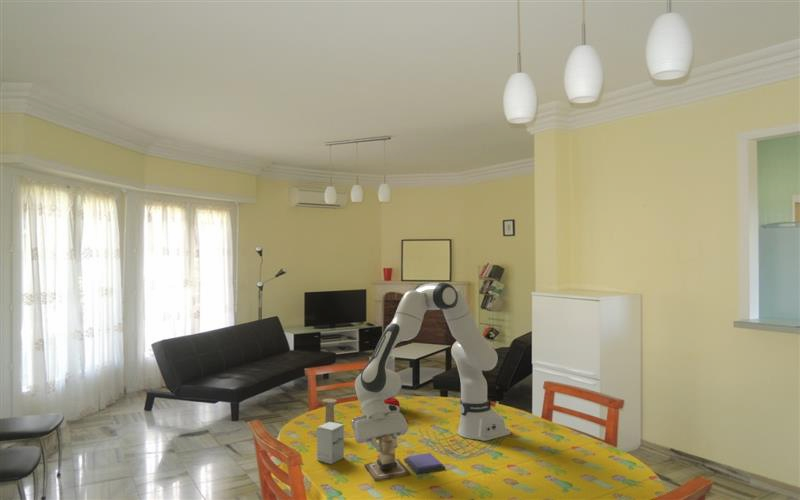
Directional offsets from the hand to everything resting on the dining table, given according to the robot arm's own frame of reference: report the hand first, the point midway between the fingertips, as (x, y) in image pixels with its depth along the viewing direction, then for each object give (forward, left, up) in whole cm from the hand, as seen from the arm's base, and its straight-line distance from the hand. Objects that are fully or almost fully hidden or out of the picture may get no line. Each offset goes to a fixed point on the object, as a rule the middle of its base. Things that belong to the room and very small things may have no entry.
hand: (387, 449), depth 180 cm
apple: (-18, -52, -8) cm, 56 cm away
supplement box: (+17, -18, -8) cm, 26 cm away
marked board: (0, -1, -8) cm, 8 cm away
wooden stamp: (0, -1, -6) cm, 6 cm away
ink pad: (-14, 0, -8) cm, 16 cm away
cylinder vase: (-21, -71, -8) cm, 75 cm away
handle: (+12, -42, -8) cm, 44 cm away
